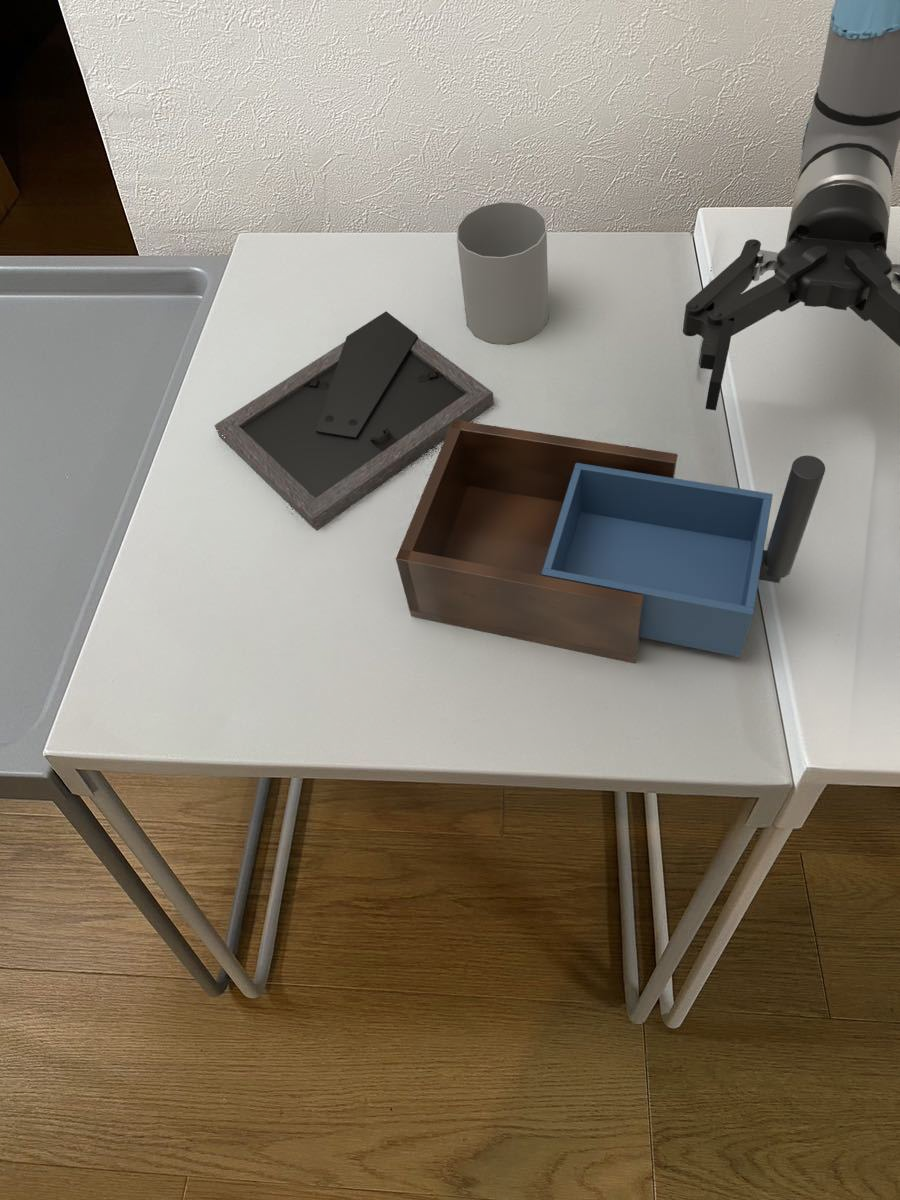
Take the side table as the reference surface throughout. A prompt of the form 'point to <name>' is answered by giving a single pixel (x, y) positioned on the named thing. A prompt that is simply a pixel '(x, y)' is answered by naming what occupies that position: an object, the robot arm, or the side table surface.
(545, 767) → the side table surface
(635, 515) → the blue drawer insert
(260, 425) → the picture frame
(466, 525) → the walnut drawer box
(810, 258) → the robot arm
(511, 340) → the cup
